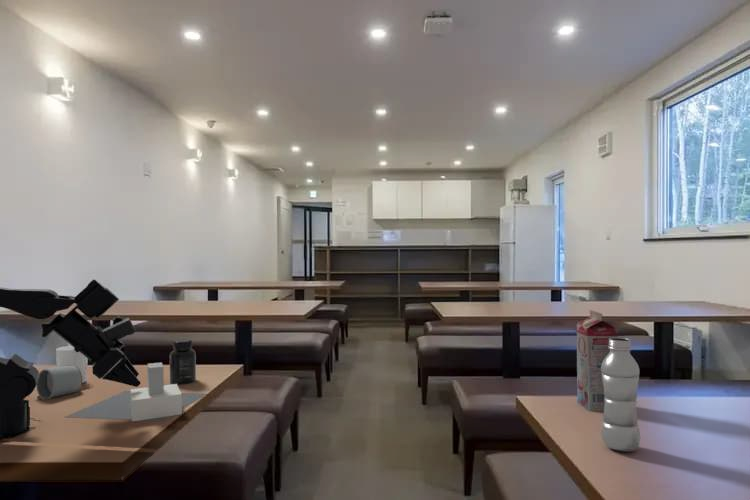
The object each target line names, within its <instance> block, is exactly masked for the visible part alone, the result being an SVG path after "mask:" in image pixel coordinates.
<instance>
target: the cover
mask: <svg viewBox="0 0 750 500" xmlns="http://www.w3.org/2000/svg"><path fill="white" fill-rule="evenodd" d="M164 370H165V369H164V364H163V362H153V363H151V362H150V363H147V387H139V388H138V387H137V388H131V389H130V390H129V391H131V417H132V420H131V422H139V421H141V420H146V419H153V418H160V417H166V416H169V417H173V416H178V415H179V416H180V415H182V414H183V412H182V411H183V409H182V394H181V393H182V392H181V390H180V387H179V385H177V384H165V383H164V380H165V379H164V373H165V372H164ZM164 384H165V385H164Z"/></svg>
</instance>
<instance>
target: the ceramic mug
mask: <svg viewBox="0 0 750 500" xmlns="http://www.w3.org/2000/svg"><path fill="white" fill-rule="evenodd" d="M39 376H40V378H39V382H38V384H37V385H36V392H37V394H38V396H39V397H40V399H42V400H48V399H53V398H57V397H61V396H65V395H71V394H74V393H77V392H78V391H79V390H80V389H81V387H82V385H83V383H82V374H81V371H80V370H79V369H78V368H77V367H74V366H65V367H57V366H56V367H51V368H49V367H48V368H44V369H41V370H40V372H39Z"/></svg>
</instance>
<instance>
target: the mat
mask: <svg viewBox="0 0 750 500" xmlns="http://www.w3.org/2000/svg"><path fill="white" fill-rule="evenodd" d="M181 394H182V410H183V409H185V408H186V407H188V406H190V405H192V404H194V403H195V402H197V401H198V400H200V399H202V398H203V397H205V396H206V395H208V393H200V392H199V393H197V392H196V393H195V392H181ZM65 418H76V419H99V420H102V419H103V420H121V421H123V420H124V421H132V417H131V390H124V391H121V392H120V393H117V394H115V395H112V396H110V397H108V398H105V399H103V400H101V401H98V402H96V403H94V404H91V405H89V406H87V407H85V408H82V409H79V410H78V411H75V412H73V413H70V414H68V415H66V416H65ZM168 418H170V416H166V417H160V418H153V419H146V420H140V421H143V422H144V421H145V422H146V421H147V422H162V421H164V420H166V419H168Z"/></svg>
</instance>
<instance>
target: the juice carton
mask: <svg viewBox="0 0 750 500" xmlns="http://www.w3.org/2000/svg"><path fill="white" fill-rule="evenodd" d="M609 338H618V328H617V327H616V326H614V325H612V324H610V323H609V322H606V321H605V320H604V319H603V313H601V312H597V311H594V310H591V309H590V310H589V317H587V318H585V319H583V320H582V321H579V322H578V323H577V324H576V373H577V374H576V376H577V377H576V378H577V379H576V384H577V385H576V386H577V388H576V389H577V391H576V392H577V398H576V399H577V401H576V402H577V403H578V404H579V405H580V406H582V407H583V408H584V409H586V410H587V411H589V412H602V411H603V412H604V405H605V400H604V397H605V396H604V386H603V379H602V372H601V365H602V362H603V360H604V359H605V357H606V356H607V355H608V354H609V352H610V349H608V346H609Z"/></svg>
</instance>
